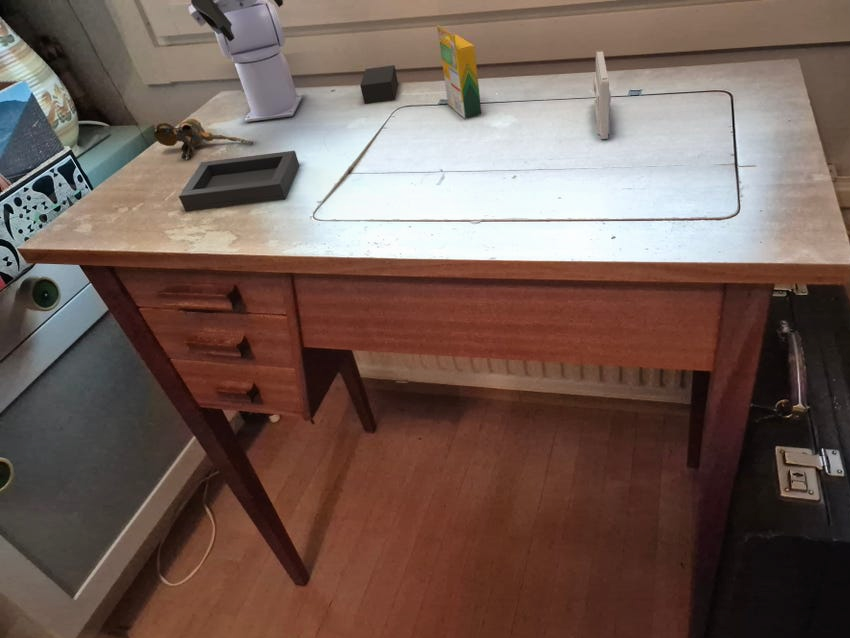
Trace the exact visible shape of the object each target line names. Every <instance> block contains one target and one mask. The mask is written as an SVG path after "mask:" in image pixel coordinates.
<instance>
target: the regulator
mask: <svg viewBox="0 0 850 638" xmlns="http://www.w3.org/2000/svg"><path fill="white" fill-rule="evenodd" d="M153 137H154V139H155V140H156V141H157V142H158V143H159V144H161V145H162V146H163V145H164V146H166V147H173V146H175V145H176V144H177V143H178V142H182V145H181V147H180V150H181V151H182V153H181V159H182V160H185V161H187V160H189V159H190V155H192V154H194V152H195V149H194V148H198V147H199V146H200V145H201V144H202V142H203V141H206V142H213V140H224V141H225V140H228V141H232V142H241V143H244V144H245V143H247V144H252V145H253V144H254V141H251V140H248V139H245V138H238V137H236V136H234V137H233V136H225V135H222V134H213V133H211V132H206V131H205V129H204V127H202V124H201V121H199V120H197V119H196V118H188V119H186V120H185V121H182V122H180V124H179V125H178V127H175V126H173V125H171V124H169V123H167V122H165V123H159V124H158V125H156V127H155V129H154V132H153Z"/></svg>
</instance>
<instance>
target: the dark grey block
mask: <svg viewBox="0 0 850 638" xmlns="http://www.w3.org/2000/svg"><path fill="white" fill-rule="evenodd" d="M359 86H360V91H361V95H362V99H363V104H365V105H366V104H373V103H381V102H389V101H395V100H396V94H397V90H398V86H399V81H398V76H397V71H396V65H395V64H393V65H385V66H378V67H371V68H365V70H364V73H363V76H362V79H361V81H360V85H359Z"/></svg>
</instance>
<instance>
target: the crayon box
mask: <svg viewBox="0 0 850 638" xmlns="http://www.w3.org/2000/svg"><path fill="white" fill-rule="evenodd" d="M436 29H437V35H438V42H439V47H440V49H439V50H440V56H441V63H442V70H443V77H444V85H445V86H444V87H445V92H446V99H447V101H446V102H447V106H449V107H450V108H452V109H453V110H454V111H455V112H456V113H457V114H458V115H460V116H461V117H462V118H463V119H464V120H466V119H470V118H473V117H476V116H480V115H482V105H481V98H480V97H481V95H480V87H479V77H478V68H477V59H476V48H475V45H474V44H472V43H471V42H469V41H467V40H465V39H464V38H462V37H461V36H459V35H457V34H453V33H452V32H450V31H449V30H447V29H445V28H444V27H442V26H440V25H439V24H436ZM445 34H446V36H444V35H445Z"/></svg>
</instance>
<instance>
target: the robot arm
mask: <svg viewBox="0 0 850 638" xmlns="http://www.w3.org/2000/svg"><path fill="white" fill-rule="evenodd" d="M273 1H274V2H275V4H276V5H277V6H278V8H280V7H282V6H283V5H284V0H273ZM190 3H191V5H189V6H188V11H189V14H190V16H191V18H193V20H194V21H195V22H196V23H197V24H198V26H200V27H203V26H204V25H206V24H207V25H208V26H209V27H210V28H211V29H212V30H213V32H214V34H215V37H216V40H217V43H218V46H219V48H220V51H221V55H222V56H223V57H225V58H226V59H227V60H230V59H231V60H232V62H233V64H234V66H235V69H236V72H237V74H238V78H239V80H240V83H241V86H242V89H243V91H244V96H245V97H246V101H247V103H248V106H249V109H250V110H249V112H248V113H247V114H246V116H245V117H244V121H245V122H246V123H250V122H257V121H265V120H273V119H280V118H289V117H293V116H294V114H295V113H296V110H297V108H298V106H299V105H300V102H301V101H302V98H303V97H304V95H303V93H302V92H301V93H300V92H299V93H297V90H296V88H295V84H294V80H293V77H292V74H291V70H290V66H289V63H288V60H287V58H286V56H285V55H284V54H283V52H282V51H281V48H282V47H284V44H285V43H286V38H285V33H284V30H283V27H282V23H281V20H280V17H279V15H278V12H277V9H276V6H275V5H274V4H272V3H271V2H270V1H269V0H190Z"/></svg>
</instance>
